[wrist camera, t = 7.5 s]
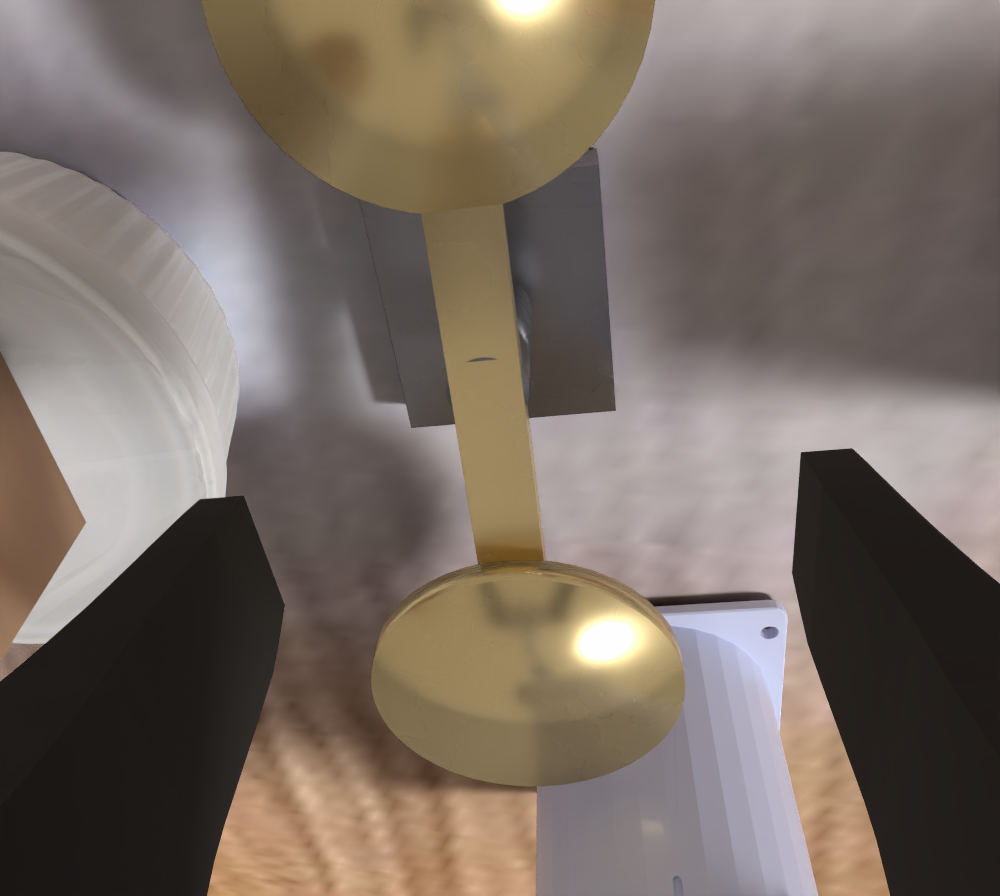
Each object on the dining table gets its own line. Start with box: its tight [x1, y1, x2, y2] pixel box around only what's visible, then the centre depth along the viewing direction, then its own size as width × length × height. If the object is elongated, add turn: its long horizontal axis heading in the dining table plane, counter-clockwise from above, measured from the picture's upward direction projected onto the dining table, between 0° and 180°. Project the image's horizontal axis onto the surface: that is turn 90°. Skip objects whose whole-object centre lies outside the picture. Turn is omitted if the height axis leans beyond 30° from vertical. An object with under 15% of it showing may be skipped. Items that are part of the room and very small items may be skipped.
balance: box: [201, 0, 685, 786], centre depth 19 cm, size 21×7×6 cm, turn 7°
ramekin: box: [0, 152, 240, 644], centre depth 21 cm, size 11×11×5 cm
